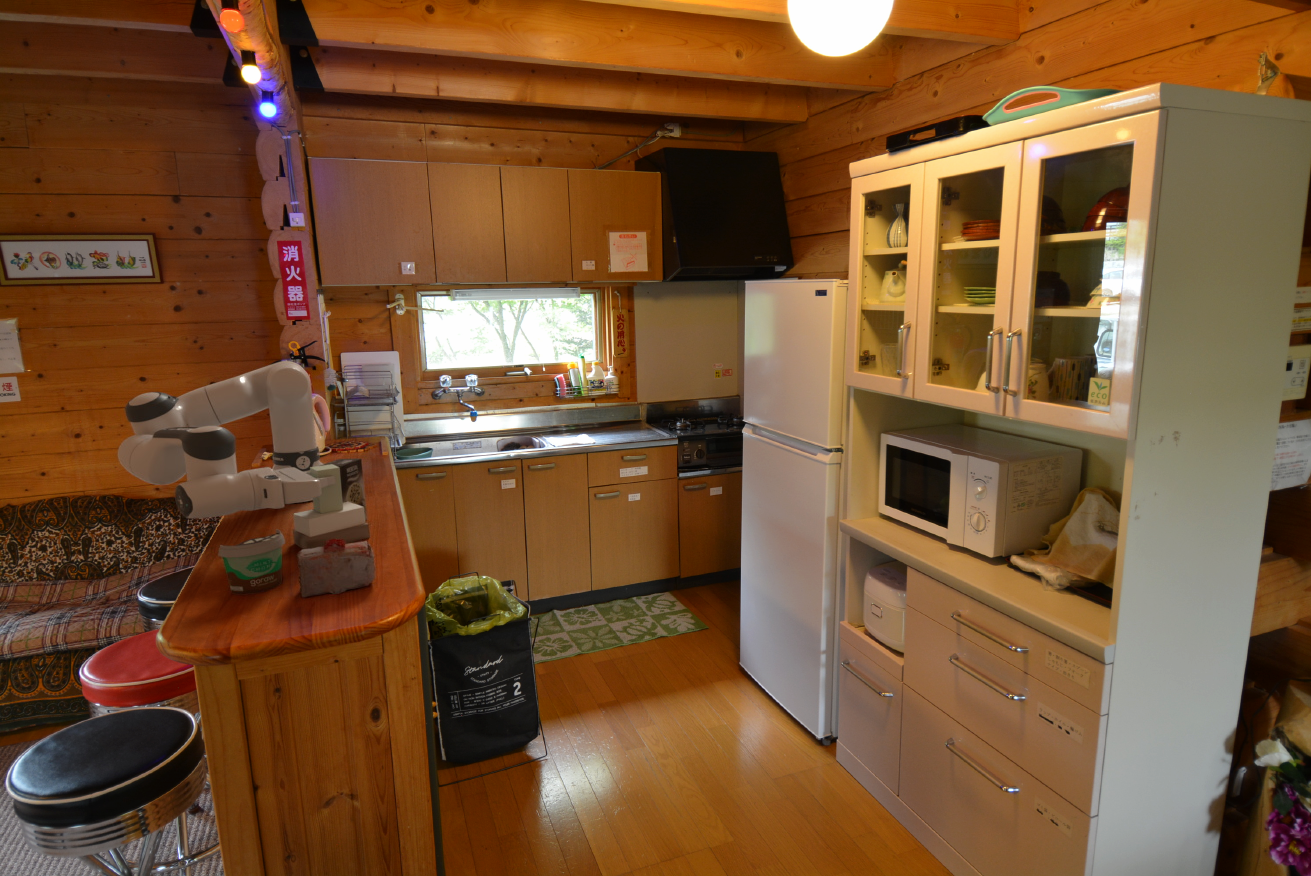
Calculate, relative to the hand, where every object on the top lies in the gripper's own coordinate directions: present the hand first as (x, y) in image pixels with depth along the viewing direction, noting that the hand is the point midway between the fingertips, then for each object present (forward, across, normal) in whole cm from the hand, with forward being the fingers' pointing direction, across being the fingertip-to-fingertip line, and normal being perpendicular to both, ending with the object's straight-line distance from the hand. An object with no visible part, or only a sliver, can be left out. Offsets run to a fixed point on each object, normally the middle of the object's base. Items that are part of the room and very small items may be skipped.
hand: (329, 477), depth 173 cm
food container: (-21, +22, -15) cm, 34 cm away
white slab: (-1, 0, -12) cm, 12 cm away
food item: (-10, +33, -15) cm, 37 cm away
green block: (-1, 0, -8) cm, 8 cm away
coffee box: (+6, -10, -15) cm, 19 cm away
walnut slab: (-1, +1, -16) cm, 16 cm away
